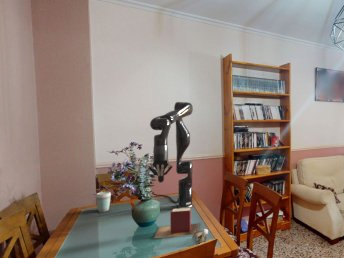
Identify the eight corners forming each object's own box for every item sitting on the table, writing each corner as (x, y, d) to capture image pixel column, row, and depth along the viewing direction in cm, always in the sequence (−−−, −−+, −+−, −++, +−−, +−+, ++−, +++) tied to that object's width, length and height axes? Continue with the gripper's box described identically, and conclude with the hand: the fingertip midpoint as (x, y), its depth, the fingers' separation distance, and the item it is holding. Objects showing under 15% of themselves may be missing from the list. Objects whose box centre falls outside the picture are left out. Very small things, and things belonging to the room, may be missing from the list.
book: (170, 233, 140) (170, 212, 139) (172, 229, 145) (172, 208, 144) (189, 231, 143) (189, 210, 142) (190, 227, 147) (190, 207, 147)
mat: (153, 238, 134) (153, 238, 134) (159, 227, 148) (159, 227, 148) (197, 234, 140) (197, 233, 140) (199, 224, 153) (199, 223, 153)
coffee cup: (113, 209, 174) (113, 192, 173) (99, 213, 166) (98, 195, 166) (107, 207, 178) (107, 190, 178) (93, 210, 171) (93, 193, 170)
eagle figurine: (191, 236, 136) (188, 241, 127) (199, 224, 137) (196, 228, 128) (203, 243, 136) (201, 248, 128) (211, 231, 138) (209, 235, 129)
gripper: (174, 151, 151) (174, 180, 152) (149, 151, 148) (150, 181, 148) (172, 153, 144) (172, 183, 145) (146, 153, 140) (146, 184, 141)
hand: (161, 182), depth 147 cm, fingers closed
